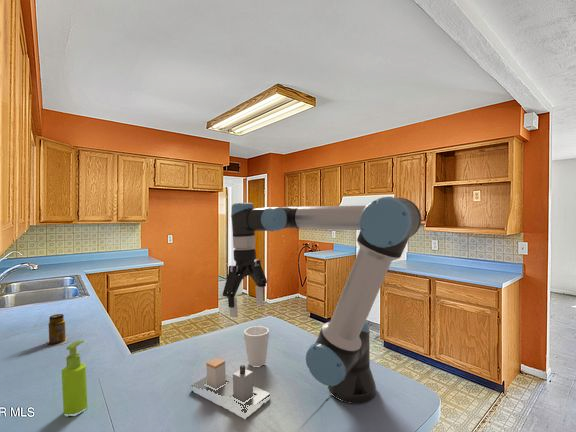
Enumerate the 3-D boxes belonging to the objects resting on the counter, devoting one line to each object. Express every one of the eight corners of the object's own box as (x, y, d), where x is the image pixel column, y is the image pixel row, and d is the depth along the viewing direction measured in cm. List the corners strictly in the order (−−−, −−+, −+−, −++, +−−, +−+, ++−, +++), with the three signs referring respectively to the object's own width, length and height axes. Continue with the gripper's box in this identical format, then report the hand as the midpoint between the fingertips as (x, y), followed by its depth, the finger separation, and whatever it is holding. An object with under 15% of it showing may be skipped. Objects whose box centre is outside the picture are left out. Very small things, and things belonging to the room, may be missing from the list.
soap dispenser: (93, 401, 98) (90, 338, 97) (79, 416, 91) (76, 349, 90) (74, 402, 97) (71, 339, 97) (58, 417, 91) (55, 349, 90)
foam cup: (246, 373, 113) (245, 337, 112) (243, 360, 121) (242, 327, 121) (272, 368, 115) (271, 334, 115) (267, 357, 124) (266, 324, 124)
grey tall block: (253, 400, 96) (252, 365, 95) (243, 408, 92) (242, 371, 92) (243, 396, 98) (242, 361, 98) (233, 403, 95) (232, 367, 94)
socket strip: (270, 401, 96) (270, 393, 96) (245, 421, 87) (245, 413, 87) (217, 377, 110) (216, 370, 110) (191, 393, 101) (190, 385, 101)
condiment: (66, 337, 148) (65, 312, 148) (67, 342, 142) (66, 316, 141) (46, 341, 143) (45, 315, 143) (47, 347, 137) (46, 320, 136)
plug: (217, 383, 105) (216, 357, 105) (225, 388, 103) (225, 361, 102) (207, 390, 102) (206, 362, 101) (215, 394, 99) (215, 366, 99)
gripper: (258, 243, 119) (261, 299, 119) (209, 253, 98) (212, 320, 98) (274, 244, 115) (277, 301, 115) (226, 254, 94) (230, 324, 94)
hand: (247, 310), depth 107 cm, fingers open, 13 cm apart
